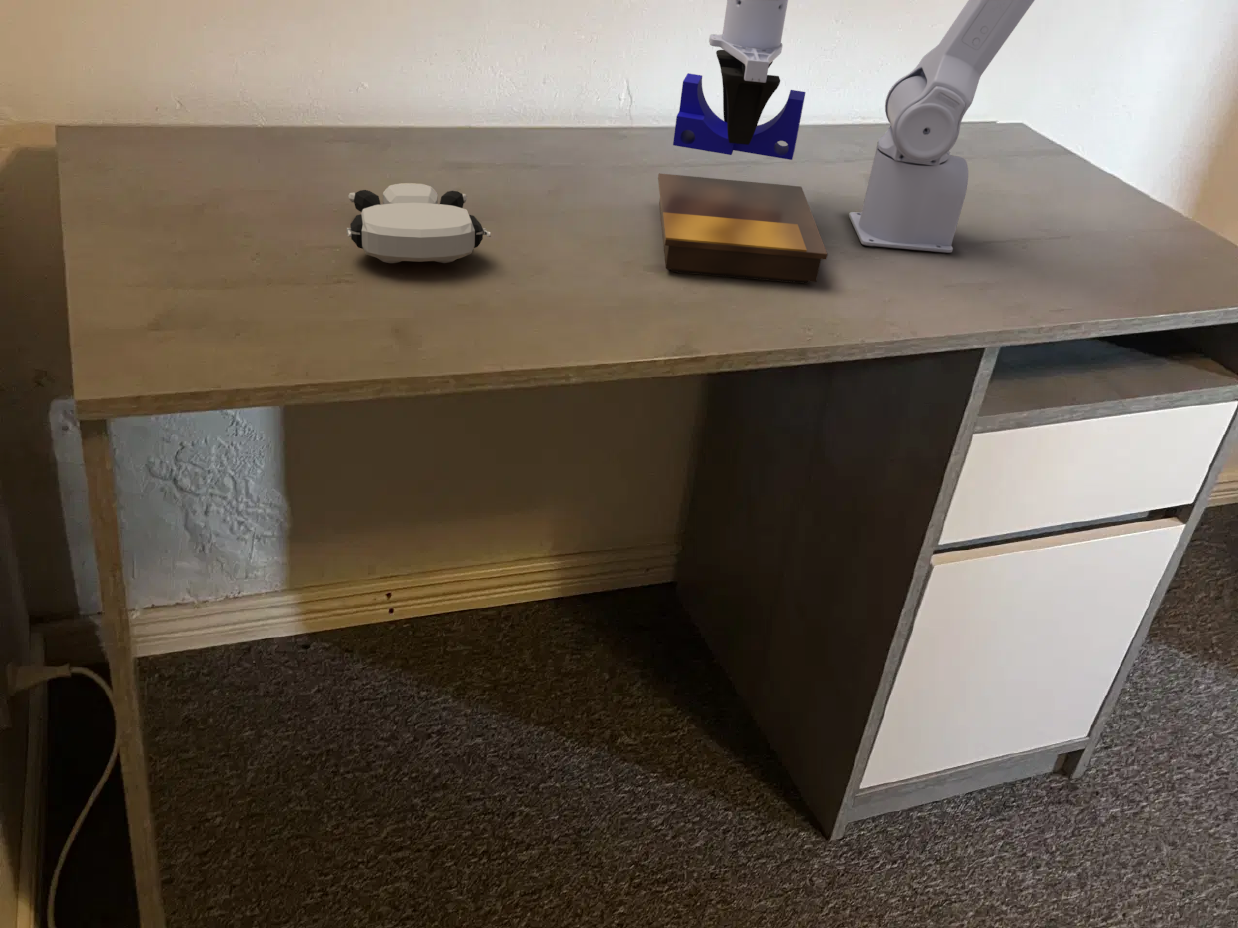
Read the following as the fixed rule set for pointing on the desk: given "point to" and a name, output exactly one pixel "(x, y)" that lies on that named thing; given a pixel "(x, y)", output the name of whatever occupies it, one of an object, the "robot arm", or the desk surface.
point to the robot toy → (414, 224)
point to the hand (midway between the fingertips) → (736, 134)
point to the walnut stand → (738, 229)
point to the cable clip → (710, 132)
